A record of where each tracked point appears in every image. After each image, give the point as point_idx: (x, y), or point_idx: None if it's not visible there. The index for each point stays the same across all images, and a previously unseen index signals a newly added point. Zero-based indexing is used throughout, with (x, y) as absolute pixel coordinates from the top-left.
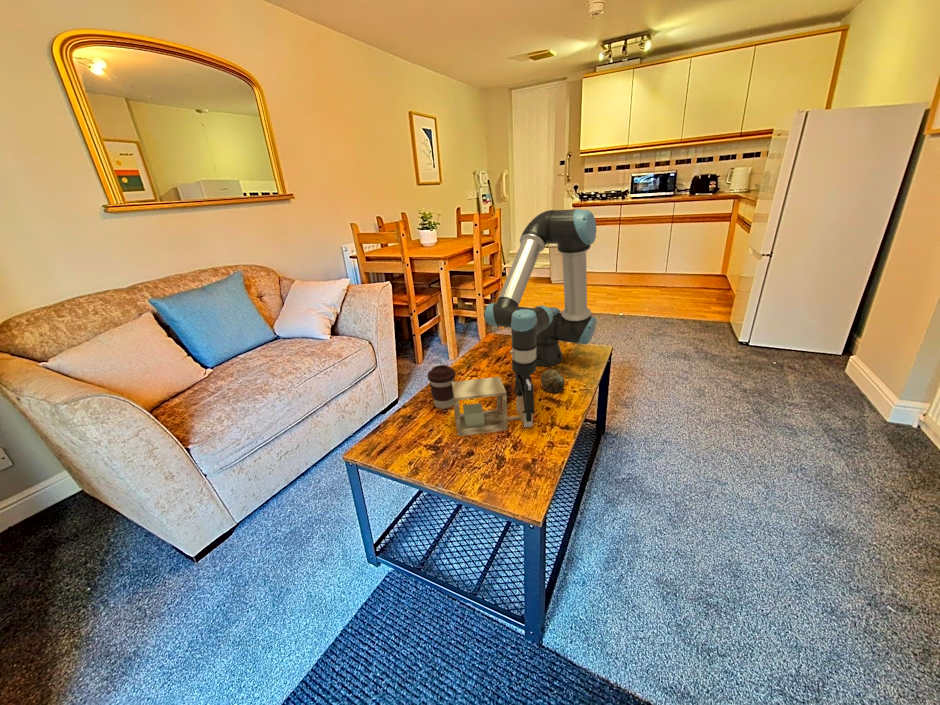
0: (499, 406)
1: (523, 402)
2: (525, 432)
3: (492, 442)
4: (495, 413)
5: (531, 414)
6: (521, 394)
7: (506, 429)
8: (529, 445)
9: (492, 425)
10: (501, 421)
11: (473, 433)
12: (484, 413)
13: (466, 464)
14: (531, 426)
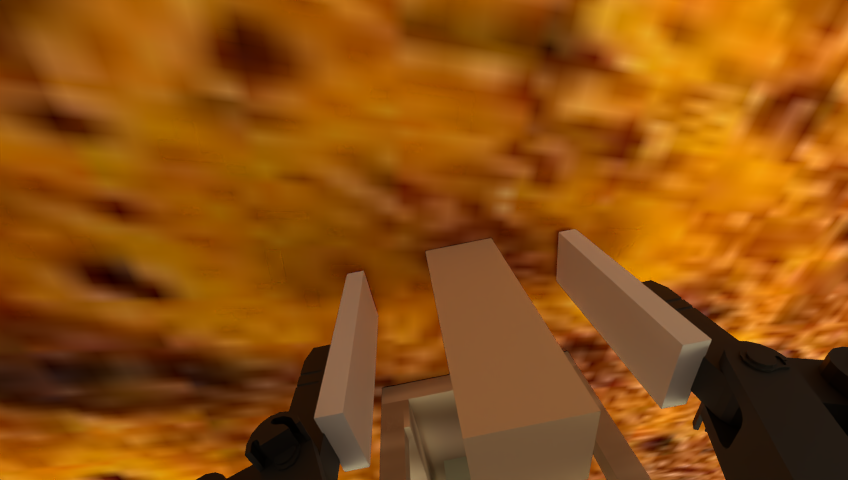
0: (407, 468)
1: (587, 463)
2: None
3: (621, 396)
4: (416, 433)
5: (673, 316)
6: (324, 463)
7: (579, 373)
8: (726, 249)
9: None
10: None
11: None
12: (427, 476)
13: (710, 444)
14: (584, 242)
